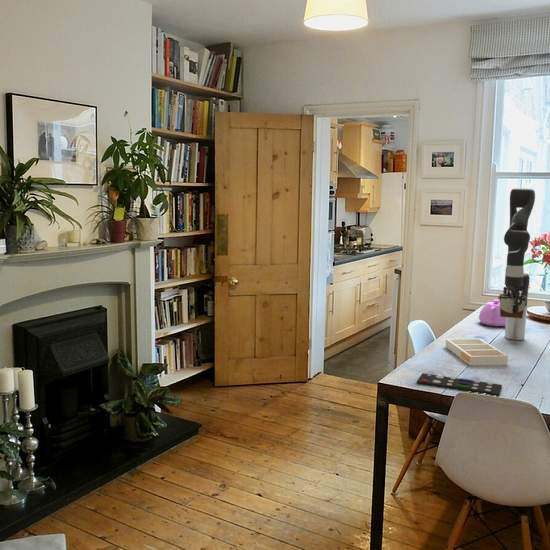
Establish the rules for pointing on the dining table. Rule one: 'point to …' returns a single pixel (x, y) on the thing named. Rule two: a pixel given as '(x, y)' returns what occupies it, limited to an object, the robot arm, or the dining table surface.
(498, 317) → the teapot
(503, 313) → the food container
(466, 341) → the cream compartment tray
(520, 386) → the dining table surface
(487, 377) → the dining table surface
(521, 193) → the robot arm
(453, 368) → the dining table surface
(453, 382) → the remote control
